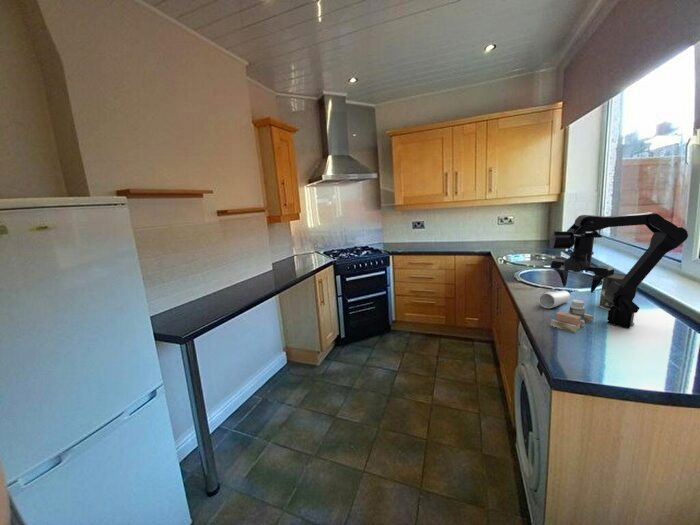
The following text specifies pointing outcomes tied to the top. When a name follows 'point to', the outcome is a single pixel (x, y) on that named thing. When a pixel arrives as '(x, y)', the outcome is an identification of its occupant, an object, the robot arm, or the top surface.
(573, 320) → the upper offcut
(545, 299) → the drinking glass
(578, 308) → the pill bottle
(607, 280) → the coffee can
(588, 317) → the offcut rack
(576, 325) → the lower offcut
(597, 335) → the top surface
